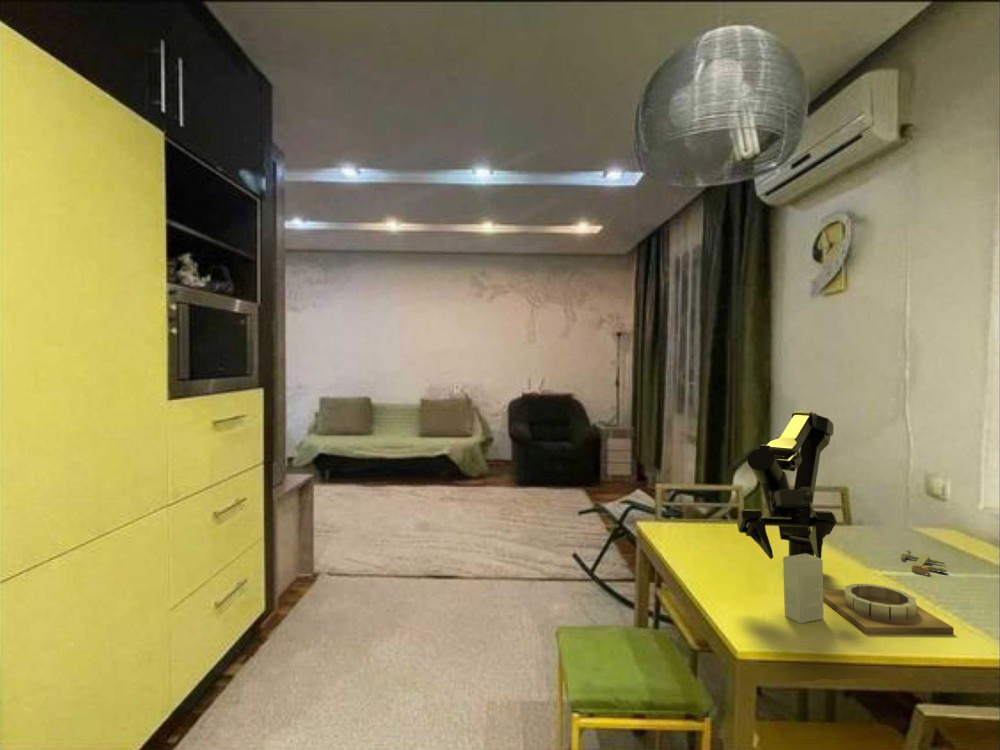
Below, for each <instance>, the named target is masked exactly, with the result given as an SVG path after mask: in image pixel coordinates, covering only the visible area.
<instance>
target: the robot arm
mask: <svg viewBox="0 0 1000 750" xmlns="http://www.w3.org/2000/svg"><path fill="white" fill-rule="evenodd" d="M834 429H835V428H834V424H833V422H832V421H831V420H830V419H829V418H827V417H824V416H821V415H819V414H817V413H816V412H813V411H804V410H803V411H800V410H796V411H793V412H792V414H791V419H790V420H789V422H788V424H787V426H785V428H784V430H783V432H782V434H781V435H780V436H779V438H776V439H773V440H771V441H769V442H768V443H767V444H760V447H759V448H758V449H755V450H754V451H751V453H750V454H749V455H748V456H747V464H748V466H749V468H750V470H751V471H752V473H753V475H754V477H755V478H756V480H757V481H758V482H759V483H760V486H761V490H762V493H763V498H764V508H765V509H766V510H767V513H768V515H763V514H762V510H761V509H757V508H756V509H751V508H749V509H747V508H745V509H744V508H743V509H742V510H740V513H739V516H738V518H737V524H736V525H737V530H738V532H739V533H740V534H745V536H746V537H750V538H752V540H753V541H754V542H755V543H756V544H757V545H759V547H760V548H761V549H762V551H764V552H763V553H765V555H767V557H768V559H770V560H772V559H773V558H774V554H773V548H772V545H771V542H770V539H769V537H768V534H767V531H766V529H767V528H766V526H767V527H768V526H771V527H772V526H774V527H775V526H776V527H778V531H779V537H780V540H782V541H783V540H784V541H788V556H792V555H799V554H804V553H806V554H809V555H812V556H815V557H817V558H820V559H822V554H823V553H822V551H823V549H822V548H823V545H824V538H825V537H826V536H828V535H830V534H831V533H832V531H833V529H834V528H835V525H836V524H838V523H837V522H838V521H837V518H836V515H835V514H834V513H833V511H830V510H827V511H826V510H815V508H814V505H813V504H814V496H815V489H816V483H817V477H818V473H819V471H818V470H819V464H820V458H821V452H822V451H824V449H825V448H827V446H829V444H830V440H831V437H832V436H834ZM786 471H787V472H795V471H796V474H795V480H794V486H793V489H791V487H790V483H789V481H788V480H789V479H788V476H787V474H786Z"/></svg>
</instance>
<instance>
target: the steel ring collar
mask: <svg viewBox="0 0 1000 750" xmlns="http://www.w3.org/2000/svg"><path fill="white" fill-rule="evenodd" d="M843 590H844V604H845V605H846V606H848V607H849V608H851V609H852V610H854V611H856V612H859V613H861V614H864V615H867V616H871V617H875V618H880V619H886V620H889V619H890V620H910V619H912V618H915V617H916V605H917V600H916V597H914V596H912V595H911V594H909V593H907V592H905V591H903V590H900V589H896V588H894V587H893V588H892V587H891V586H890V587H889V586H886V585H880V584H879V585H878V584H873V583H870V584H869V583H853V584H848V585H846V586H844V589H843ZM862 598H875V599H881V600H887V601H890V602H893V603H896V604H899V605H886V604H880V603H875V602H870V601H867V600H864V599H862Z"/></svg>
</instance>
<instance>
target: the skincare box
mask: <svg viewBox="0 0 1000 750" xmlns="http://www.w3.org/2000/svg"><path fill="white" fill-rule="evenodd" d="M782 561H783V562H782V563H783V599H784V600H783V601H784V607H783V609H784V615H785V617H787V618H788V619H791V620H793V621H795V622H797V623H798V624H804V623H810V622H813V621H819V620H823V619H824V618H825V617H824V613H825V612H824V601H823V590H824V578H823V577H824V572H823V563H824V562H823V559H822V558H821V559H820V558H817V557H816V556H815V555H814V556H812V555H809V554H806V553H804V554H799V555H792V556H789V555H788V556H783V557H782Z"/></svg>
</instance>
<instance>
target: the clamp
mask: <svg viewBox="0 0 1000 750" xmlns="http://www.w3.org/2000/svg"><path fill="white" fill-rule="evenodd" d="M911 554H912V552H911V550H906V552H902V553H901V557H900V561H902V562H903V561H906V560H909V559H911V560H915V562H913V564H912V566H911V573H913V572H916V573H915V574H918V573H922V574H921V575H923V574H928V572H929V573H930V571H932V570H934V571H933V572H935V571H940V572H946V573H947V568H946V567H941V566H931V565H926V564H927V563H926V562H929V563H930V564H931V563H932V564H936V563H940V564H941V565H945V562H944V561H940V560H936V559H933V558H930V557H931V556H930V555H927V554H921V555H920V556H916V555H915V556H914V555H911ZM940 564H939V565H940ZM928 575H929V574H928Z"/></svg>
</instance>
